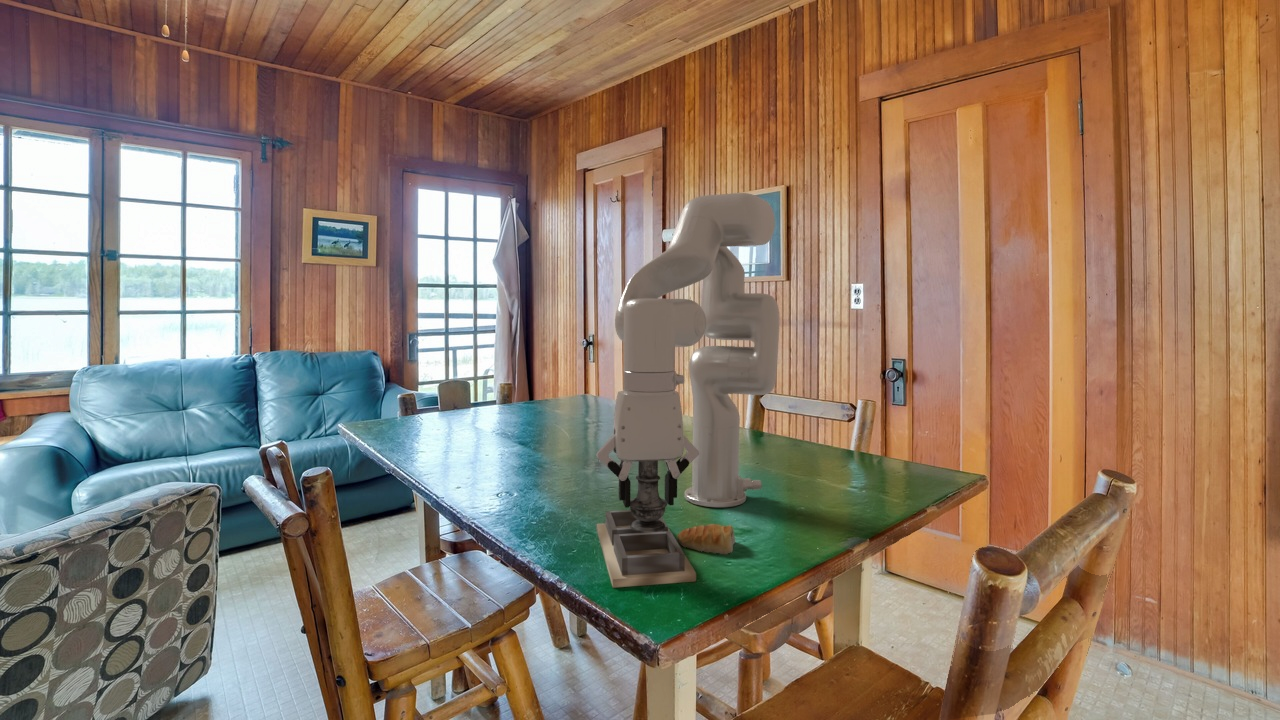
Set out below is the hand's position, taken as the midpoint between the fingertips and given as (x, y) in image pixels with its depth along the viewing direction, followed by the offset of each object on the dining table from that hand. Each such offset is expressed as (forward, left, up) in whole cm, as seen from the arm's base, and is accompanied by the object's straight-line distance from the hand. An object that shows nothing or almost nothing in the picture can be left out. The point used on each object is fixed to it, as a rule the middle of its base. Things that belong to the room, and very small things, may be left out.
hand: (647, 502), depth 87 cm
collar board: (0, -6, -10) cm, 12 cm away
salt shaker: (0, 0, -4) cm, 4 cm away
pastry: (-12, -7, -11) cm, 17 cm away
